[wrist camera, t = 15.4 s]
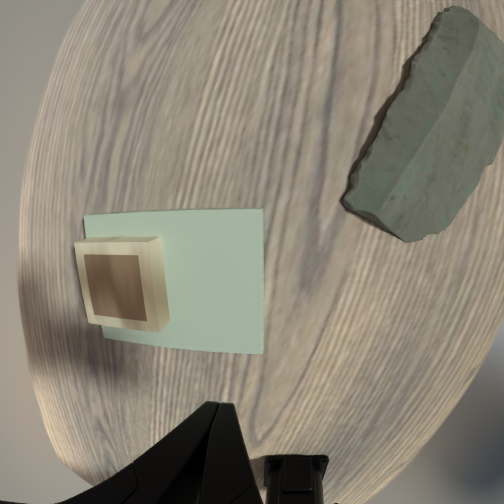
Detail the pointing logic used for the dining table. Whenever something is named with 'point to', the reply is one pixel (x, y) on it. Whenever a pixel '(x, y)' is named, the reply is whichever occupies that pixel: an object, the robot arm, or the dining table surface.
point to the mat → (200, 275)
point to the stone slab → (435, 132)
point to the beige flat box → (124, 282)
